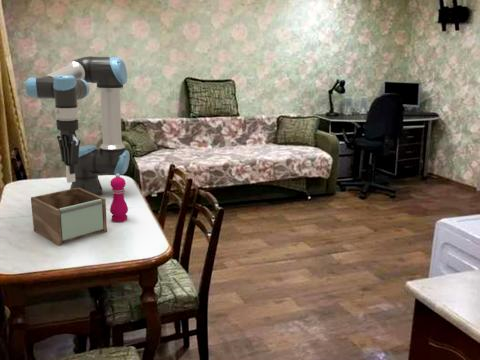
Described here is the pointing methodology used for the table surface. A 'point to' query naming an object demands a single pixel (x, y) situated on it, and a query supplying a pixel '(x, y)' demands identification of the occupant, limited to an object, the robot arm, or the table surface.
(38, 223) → the crate
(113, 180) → the pepper mill
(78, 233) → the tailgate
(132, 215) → the table surface
